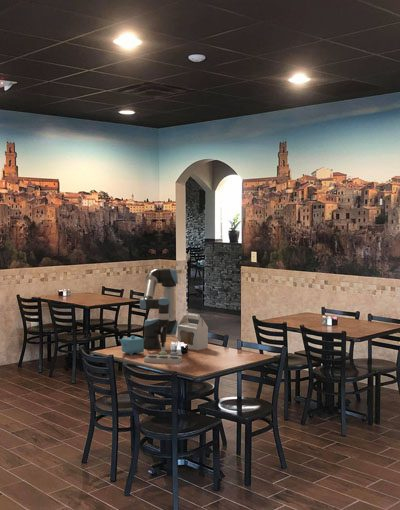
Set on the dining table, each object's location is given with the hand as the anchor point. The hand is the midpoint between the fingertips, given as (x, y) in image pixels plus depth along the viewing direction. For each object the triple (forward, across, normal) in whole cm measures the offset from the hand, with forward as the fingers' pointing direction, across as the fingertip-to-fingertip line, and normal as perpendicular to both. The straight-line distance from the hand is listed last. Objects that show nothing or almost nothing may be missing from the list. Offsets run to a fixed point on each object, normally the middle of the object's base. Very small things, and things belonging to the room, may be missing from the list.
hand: (163, 351), depth 465 cm
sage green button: (+2, 0, 0) cm, 2 cm away
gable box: (+7, -58, +11) cm, 59 cm away
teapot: (+7, -20, -30) cm, 37 cm away
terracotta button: (+2, 0, -8) cm, 8 cm away
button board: (+7, 0, 0) cm, 7 cm away
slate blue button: (+2, 0, +8) cm, 8 cm away
